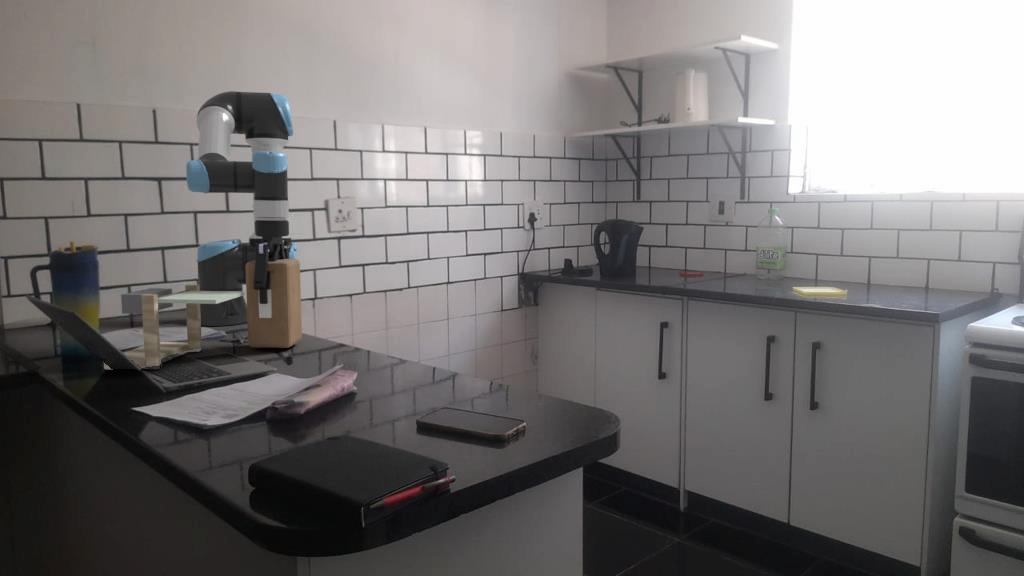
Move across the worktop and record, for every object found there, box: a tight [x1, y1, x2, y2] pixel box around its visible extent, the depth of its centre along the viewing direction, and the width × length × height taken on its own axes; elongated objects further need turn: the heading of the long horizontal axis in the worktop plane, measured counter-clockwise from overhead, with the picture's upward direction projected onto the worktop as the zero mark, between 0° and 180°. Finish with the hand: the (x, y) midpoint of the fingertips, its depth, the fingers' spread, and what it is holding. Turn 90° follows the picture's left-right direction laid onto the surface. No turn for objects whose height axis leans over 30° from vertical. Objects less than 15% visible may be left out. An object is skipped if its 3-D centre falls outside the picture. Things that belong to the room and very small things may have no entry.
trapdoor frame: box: [103, 283, 203, 370], centre depth 158 cm, size 19×11×16 cm, turn 176°
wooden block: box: [245, 258, 303, 349], centre depth 172 cm, size 10×10×20 cm
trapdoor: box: [120, 287, 246, 315], centre depth 157 cm, size 14×21×4 cm, turn 86°
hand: (274, 313), depth 172 cm, fingers closed on wooden block, 10 cm apart
